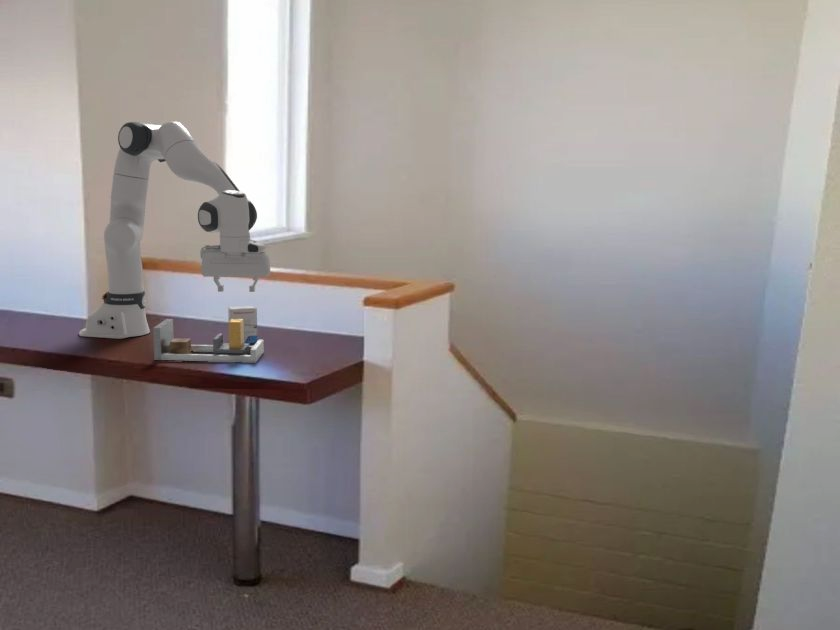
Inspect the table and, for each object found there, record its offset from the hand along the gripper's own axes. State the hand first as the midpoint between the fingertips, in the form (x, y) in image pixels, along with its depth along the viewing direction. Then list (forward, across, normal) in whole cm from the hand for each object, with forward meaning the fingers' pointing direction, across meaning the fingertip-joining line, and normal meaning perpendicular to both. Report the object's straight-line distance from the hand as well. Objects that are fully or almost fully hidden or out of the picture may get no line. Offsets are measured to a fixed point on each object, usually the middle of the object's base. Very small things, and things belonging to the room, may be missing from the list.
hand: (236, 291), depth 268 cm
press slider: (+20, -2, 0) cm, 20 cm away
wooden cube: (+20, -18, 0) cm, 27 cm away
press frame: (+20, -8, 0) cm, 22 cm away
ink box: (+20, -2, +20) cm, 29 cm away
